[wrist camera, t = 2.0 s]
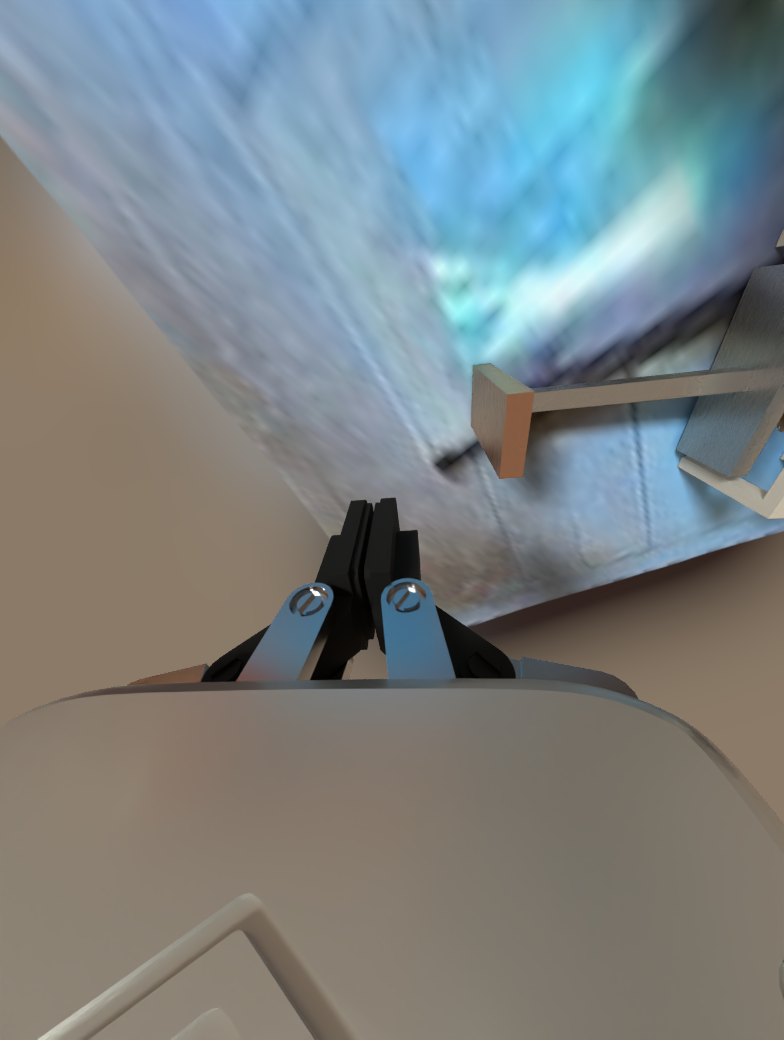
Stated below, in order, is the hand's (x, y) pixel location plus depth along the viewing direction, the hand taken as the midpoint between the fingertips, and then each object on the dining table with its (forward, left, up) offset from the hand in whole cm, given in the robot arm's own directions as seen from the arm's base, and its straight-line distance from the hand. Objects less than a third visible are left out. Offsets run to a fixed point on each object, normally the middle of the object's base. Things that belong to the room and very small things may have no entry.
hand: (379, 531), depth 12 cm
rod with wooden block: (0, +17, -19) cm, 25 cm away
